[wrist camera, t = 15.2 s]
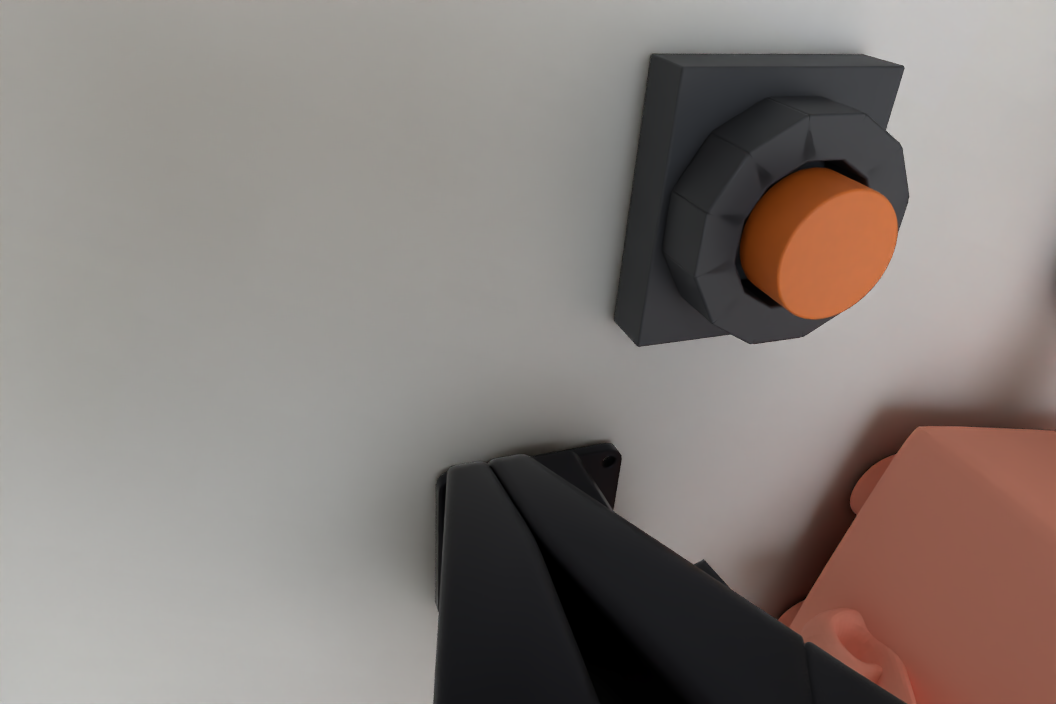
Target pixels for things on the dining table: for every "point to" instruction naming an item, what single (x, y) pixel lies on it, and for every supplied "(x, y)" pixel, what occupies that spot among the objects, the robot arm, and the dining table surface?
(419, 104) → the dining table surface
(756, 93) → the control block
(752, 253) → the button
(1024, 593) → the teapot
